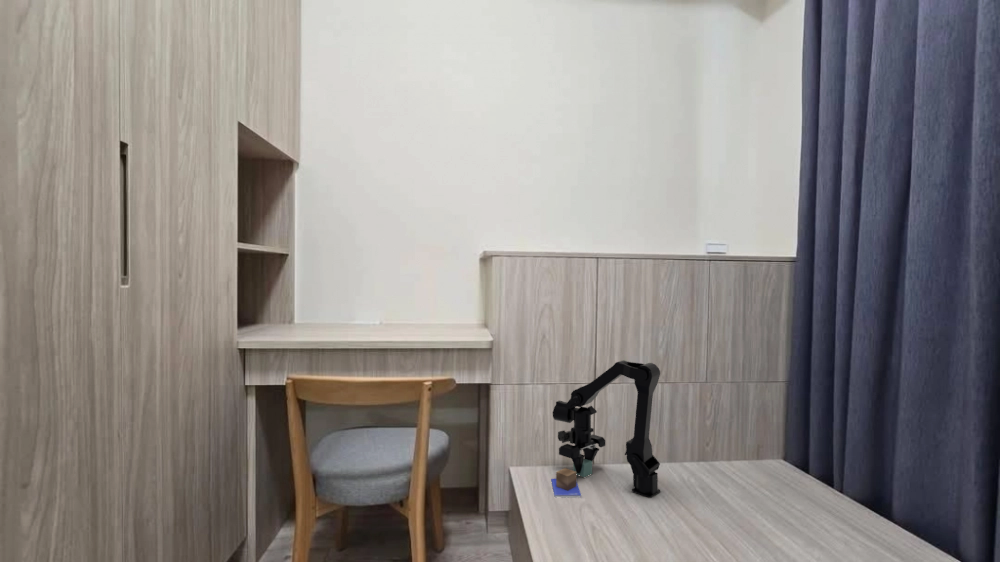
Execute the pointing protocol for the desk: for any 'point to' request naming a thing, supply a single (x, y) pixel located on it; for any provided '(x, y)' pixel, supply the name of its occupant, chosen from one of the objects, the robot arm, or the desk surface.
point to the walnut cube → (566, 479)
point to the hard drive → (565, 491)
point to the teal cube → (585, 468)
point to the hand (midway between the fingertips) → (582, 471)
